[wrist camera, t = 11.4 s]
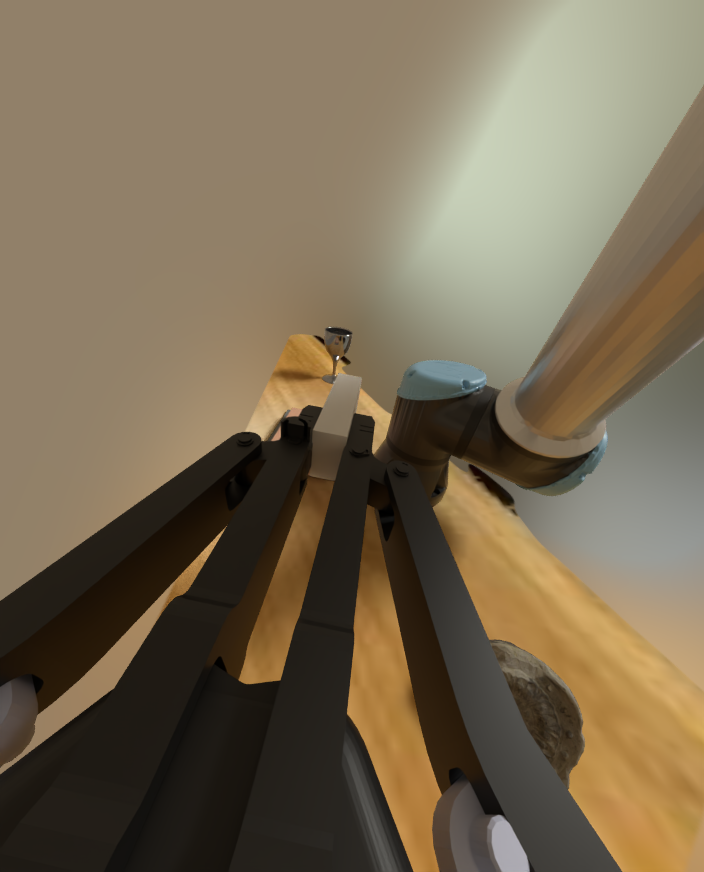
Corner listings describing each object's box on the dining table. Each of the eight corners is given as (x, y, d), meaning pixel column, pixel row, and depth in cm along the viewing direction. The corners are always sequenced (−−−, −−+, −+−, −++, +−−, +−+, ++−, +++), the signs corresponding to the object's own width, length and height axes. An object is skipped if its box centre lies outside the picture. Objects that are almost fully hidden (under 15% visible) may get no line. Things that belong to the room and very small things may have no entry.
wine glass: (340, 386, 83) (347, 337, 74) (316, 380, 84) (320, 330, 75) (349, 377, 89) (355, 331, 80) (326, 371, 90) (331, 325, 82)
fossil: (443, 774, 23) (474, 673, 22) (429, 672, 32) (451, 596, 31) (580, 826, 22) (621, 721, 21) (525, 704, 31) (552, 626, 30)
